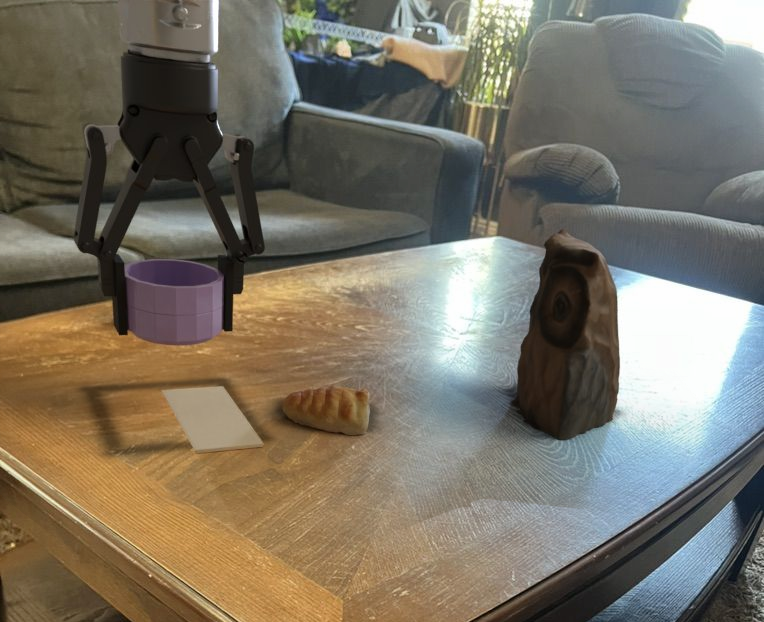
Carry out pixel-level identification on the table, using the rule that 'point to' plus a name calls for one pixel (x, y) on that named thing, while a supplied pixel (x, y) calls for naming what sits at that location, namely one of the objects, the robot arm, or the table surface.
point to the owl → (570, 343)
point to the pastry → (330, 409)
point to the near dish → (174, 301)
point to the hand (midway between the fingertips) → (174, 328)
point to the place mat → (211, 419)
